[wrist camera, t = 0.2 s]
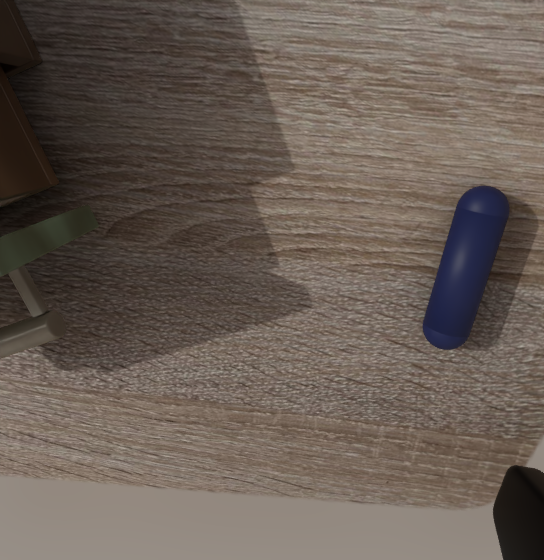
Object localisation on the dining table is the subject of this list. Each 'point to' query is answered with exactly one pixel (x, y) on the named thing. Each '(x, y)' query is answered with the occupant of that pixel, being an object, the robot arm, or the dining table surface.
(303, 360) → the dining table surface
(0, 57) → the cabinet
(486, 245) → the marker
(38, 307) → the drawer
